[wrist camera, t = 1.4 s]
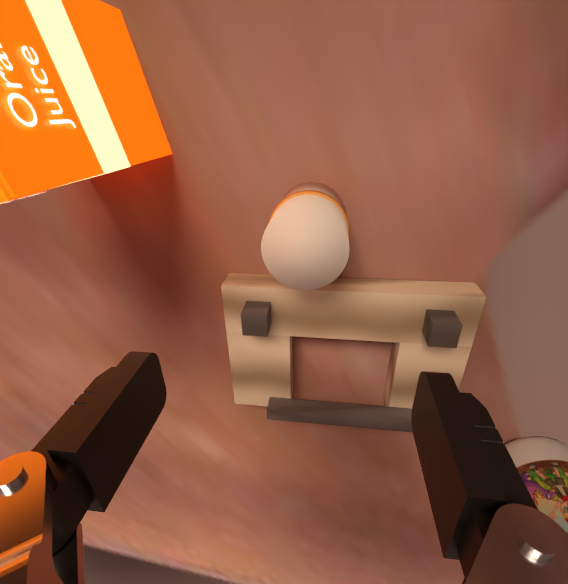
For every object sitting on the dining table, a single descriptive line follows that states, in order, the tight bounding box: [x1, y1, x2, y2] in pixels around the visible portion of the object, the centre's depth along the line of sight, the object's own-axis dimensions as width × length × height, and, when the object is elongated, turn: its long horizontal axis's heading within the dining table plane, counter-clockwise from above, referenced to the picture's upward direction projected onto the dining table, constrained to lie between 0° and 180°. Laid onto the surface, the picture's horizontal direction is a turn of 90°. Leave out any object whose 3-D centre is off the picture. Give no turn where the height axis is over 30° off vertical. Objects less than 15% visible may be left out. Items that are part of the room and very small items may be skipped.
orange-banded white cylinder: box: [261, 183, 349, 290], centre depth 23 cm, size 5×5×7 cm
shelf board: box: [221, 273, 487, 432], centre depth 29 cm, size 13×20×4 cm, turn 91°
